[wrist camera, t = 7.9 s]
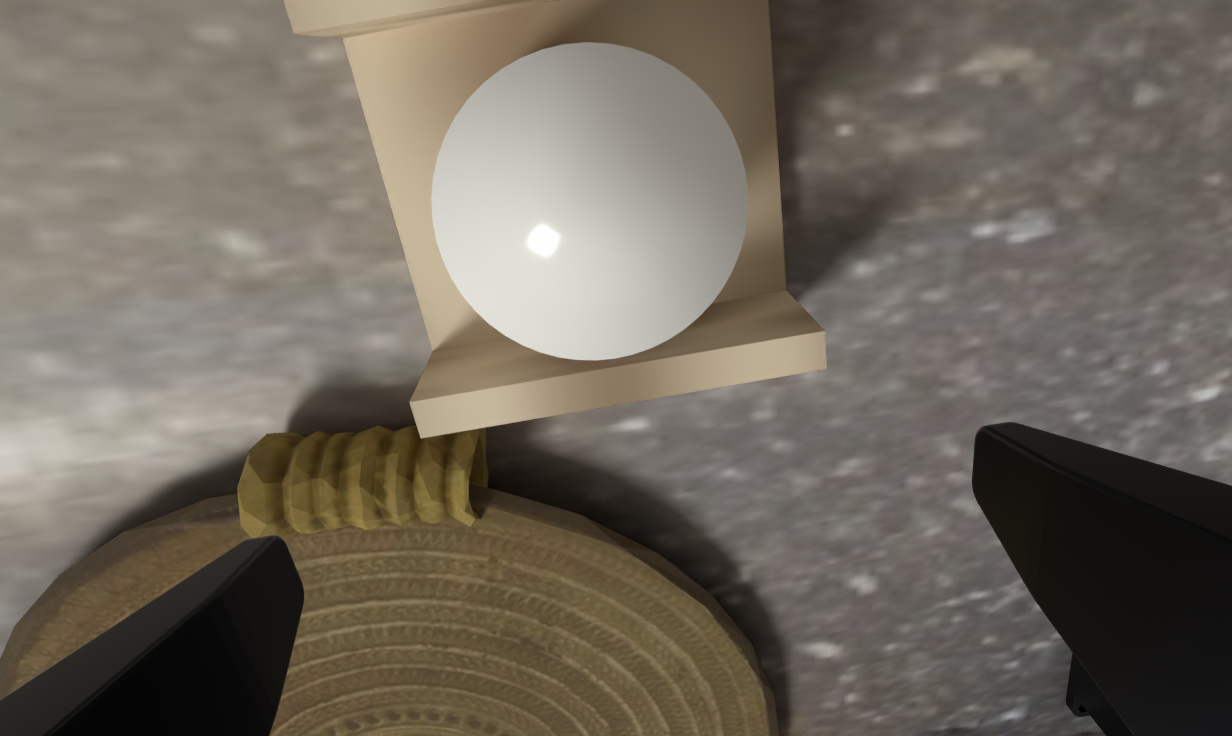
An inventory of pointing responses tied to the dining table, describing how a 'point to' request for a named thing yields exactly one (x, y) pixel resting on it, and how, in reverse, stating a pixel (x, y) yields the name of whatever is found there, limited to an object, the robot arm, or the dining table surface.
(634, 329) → the white rounded cylinder
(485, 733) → the decorative disc
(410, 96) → the dish rack
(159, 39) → the dining table surface
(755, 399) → the dining table surface
